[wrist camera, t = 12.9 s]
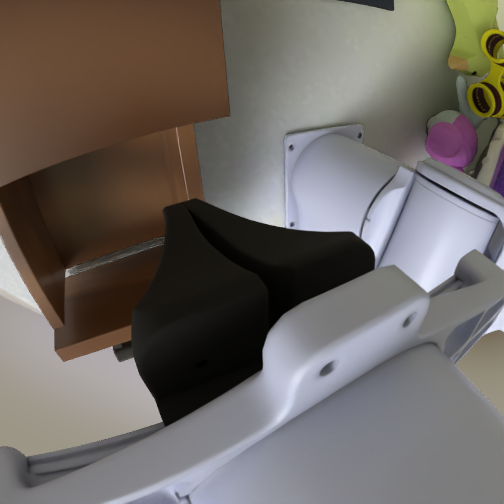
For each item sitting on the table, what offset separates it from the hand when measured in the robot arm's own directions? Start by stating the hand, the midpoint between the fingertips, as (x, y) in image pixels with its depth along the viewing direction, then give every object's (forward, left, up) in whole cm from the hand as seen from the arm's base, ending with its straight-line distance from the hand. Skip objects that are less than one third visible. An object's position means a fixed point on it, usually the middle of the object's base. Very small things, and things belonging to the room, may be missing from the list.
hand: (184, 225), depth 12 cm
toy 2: (+3, -39, -8) cm, 39 cm away
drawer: (-3, +3, -9) cm, 10 cm away
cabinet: (+11, +3, -10) cm, 16 cm away
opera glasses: (+7, -31, -6) cm, 33 cm away
